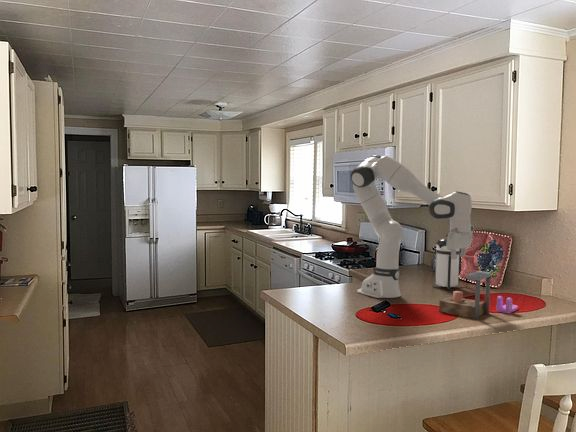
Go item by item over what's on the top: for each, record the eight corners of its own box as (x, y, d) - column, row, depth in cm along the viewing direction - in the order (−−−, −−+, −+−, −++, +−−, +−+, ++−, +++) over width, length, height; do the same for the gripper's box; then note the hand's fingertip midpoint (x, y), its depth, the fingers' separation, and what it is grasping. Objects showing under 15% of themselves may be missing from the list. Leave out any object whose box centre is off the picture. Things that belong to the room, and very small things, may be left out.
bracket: (508, 313, 226) (509, 298, 225) (496, 311, 230) (496, 296, 229) (519, 308, 235) (520, 294, 235) (507, 306, 239) (507, 292, 239)
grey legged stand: (464, 317, 219) (465, 275, 218) (476, 310, 230) (478, 270, 228) (478, 319, 215) (479, 277, 214) (489, 313, 226) (491, 272, 224)
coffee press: (464, 291, 269) (466, 235, 267) (433, 289, 272) (435, 234, 270) (460, 284, 286) (462, 232, 284) (431, 283, 289) (432, 231, 287)
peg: (460, 313, 225) (460, 293, 225) (451, 311, 228) (452, 292, 227) (463, 311, 228) (464, 291, 228) (454, 310, 231) (455, 290, 230)
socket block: (439, 311, 228) (439, 300, 227) (450, 306, 237) (450, 296, 236) (474, 318, 217) (474, 307, 217) (484, 313, 226) (484, 302, 226)
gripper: (457, 229, 218) (455, 261, 219) (475, 227, 233) (473, 256, 234) (443, 228, 222) (441, 259, 223) (462, 225, 237) (460, 254, 238)
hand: (458, 257), depth 229 cm, fingers open, 8 cm apart
